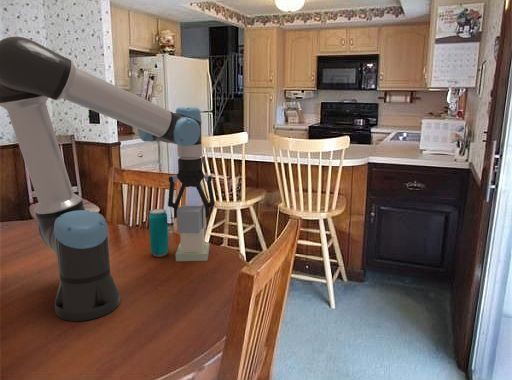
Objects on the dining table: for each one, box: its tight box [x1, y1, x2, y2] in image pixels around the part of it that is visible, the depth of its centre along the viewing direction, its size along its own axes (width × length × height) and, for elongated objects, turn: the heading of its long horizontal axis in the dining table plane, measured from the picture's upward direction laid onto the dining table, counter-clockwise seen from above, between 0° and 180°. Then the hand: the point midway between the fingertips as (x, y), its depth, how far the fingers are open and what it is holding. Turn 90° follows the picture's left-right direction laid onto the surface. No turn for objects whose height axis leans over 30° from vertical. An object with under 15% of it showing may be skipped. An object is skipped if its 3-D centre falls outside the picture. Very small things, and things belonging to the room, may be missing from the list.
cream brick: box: [179, 228, 206, 252], centre depth 138 cm, size 7×7×7 cm
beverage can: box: [148, 208, 169, 258], centre depth 138 cm, size 6×6×15 cm
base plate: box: [175, 242, 210, 262], centre depth 139 cm, size 10×10×2 cm
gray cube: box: [176, 204, 205, 234], centre depth 134 cm, size 7×7×7 cm
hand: (192, 227), depth 137 cm, fingers closed on gray cube, 7 cm apart
